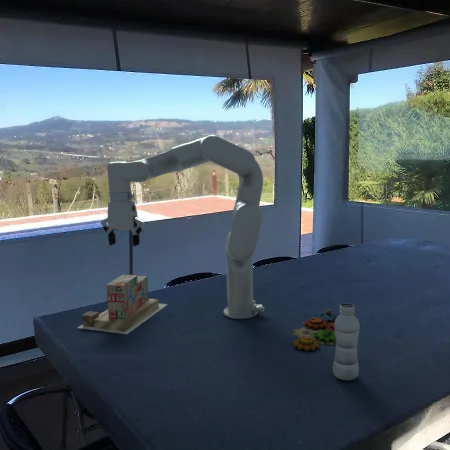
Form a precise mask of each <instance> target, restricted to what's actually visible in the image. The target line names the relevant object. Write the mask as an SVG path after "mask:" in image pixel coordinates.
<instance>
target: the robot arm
mask: <svg viewBox="0 0 450 450" xmlns="http://www.w3.org/2000/svg"><path fill="white" fill-rule="evenodd" d="M210 162H211V163H214V164H216V165H217V166H220V167H221V168H223V169H226V170H228V171H229V172H230V171H231V172H232V173H235V174H237V176H238V188H237V192H236V194H237V195H236V199H235V203H234V207H233V210H232V219H233V220H232V224H231V230H230V232H229V233H227V235H226V238H225V241H224V242H225V243H224V246H225V248H224V249H225V261H226V263H225V264H226V291H227V293H226V296H227V299H226V302H227V306H226V307H225V308H224V309H223V315H224V316H225V317H227V318H229V319H235V320H245V319H251V318H253V317H256V316H257V315H258V313H259V312H260V313H261V312H262V313H264V311H265V306H263V304H257V303H256V300H255V299H254V284H253V283H254V282H253V281H254V279H253V277H254V275H253V255H254V253H255V250H256V248H257V244H258V239H259V234H260V230H261V225H262V219H263V218H262V217H263V216H262V212H261V210H260V205H261V198H262V193H263V188H264V187H263V185H264V178H263V177H264V176H263V172H262V169H261V166H260V164H259V163H258V162H257V159H256V158H255V155H254V154H253V153H252V152H251V151H249V150H247V149H245V148H243V147H241V146H239V145H237V144H234V143H233V142H230V141H228V140H226V139H225V138H222V137H221V136H218V135H215V134H209V135H207V136H204V137H201V138H198V139H196V140H191V141H188V142H186V143H183V144H180V145H176V146H174V147H172V148H169V149H168V150H166V151H164V152H161V153H159V154H156V155H153V156H148V157H146V158H143V159H139V160H134V161H111V162H109V163H108V164H107V167H106V168H107V170H106V171H107V178H108V179H107V180H108V193H109V201H108V204H107V217H106V218H104V219H103V220H101V221H100V224H101V227H102V228H103V230H104V231H105V233H106V235H107V237H108V243H109V246H114V245H115V244H116V243H117V239H116V233H115V230H120V231H121V230H123V231H124V230H127V231H128V230H130V231H131V233H132V246H133V247H137V246H139V245H140V242H141V241H140V234H142V233H141V232H142V231H144V228H145V225H146V222H145V221H144V220H142V219H140V218H139V216H138V211H137V206H136V203H135V201H134V200H133V199H134V198H135V193H132V186H131V185H132V183H144V182H147V181H148V180H151V179H154V178H156V177H159V176H163V175H166V174H169V173H174V172H181V171H185V170H187V169H190V168H194V167H198V166H200V165H204V164H206V163H210Z"/></svg>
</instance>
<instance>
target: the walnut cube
mask: <svg viewBox="0 0 450 450" xmlns="http://www.w3.org/2000/svg"><path fill="white" fill-rule="evenodd" d="M99 314H100V313H99V312H98V311H92V310H89V311H87V312H85V313H83V314H81V318H82V319H81V320H82V324H83V326H87V327H94V319H96V318H97V317H99Z"/></svg>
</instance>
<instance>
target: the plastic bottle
mask: <svg viewBox="0 0 450 450" xmlns="http://www.w3.org/2000/svg"><path fill="white" fill-rule="evenodd" d="M355 307H356V306H355V305H354V304H353V303H349V302H344V303H340V304H339V311H338V312H339V315H338V316H337V319H336V320H335V323H334V330H335V337H336V340H335V341H336V344H335V353H334V360H333V363H332V371H333V375H334V376H335V377H336V379H339V380H341V381H354V380H356V378H357V377H358V376H359V372H360V366H359V361H358V360H359V359H358V344H359V343H358V341H359V337H360V336H359V334H360V329H361V325H360V321H359V320H358V318H357V316H356V315H355V313H356V310H355V309H356V308H355Z"/></svg>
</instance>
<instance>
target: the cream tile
mask: <svg viewBox="0 0 450 450" xmlns="http://www.w3.org/2000/svg"><path fill="white" fill-rule="evenodd" d="M166 306H168V303H167V304H166V303H159V307H158V308H157V309H155V310H154V311H153V312H151V313H150V314H148V315H147V316H146V317H144V318H143V319H141V320H140V321H139V322H137V323H136V324H134V325H133V326H132V327H130V328H129V329H127V330H126V331H125V332H123V331H115V330H107V329H99V328H94V327H87V326H83V323H82V324H81V325H79V326H77V327H76V328H77V329H82V330H89V331H90V330H91V331H100V332H106V333H107V332H108V333H114V334H115V333H116V334H123V335H129V334H130V333H131V332H133V330H135V329H136V328H138V327H140V326H141V325H142V324H143V323H144V322H147V320H149V319H150V318H152V317H153V316H155V314H157V313H158V312H160V311H161V310H162V309H163V308H165V307H166ZM107 311H108V309H106V310H104V311H103V312H101V313H99V316H101V315H102V314H104V313H106V312H107Z"/></svg>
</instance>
